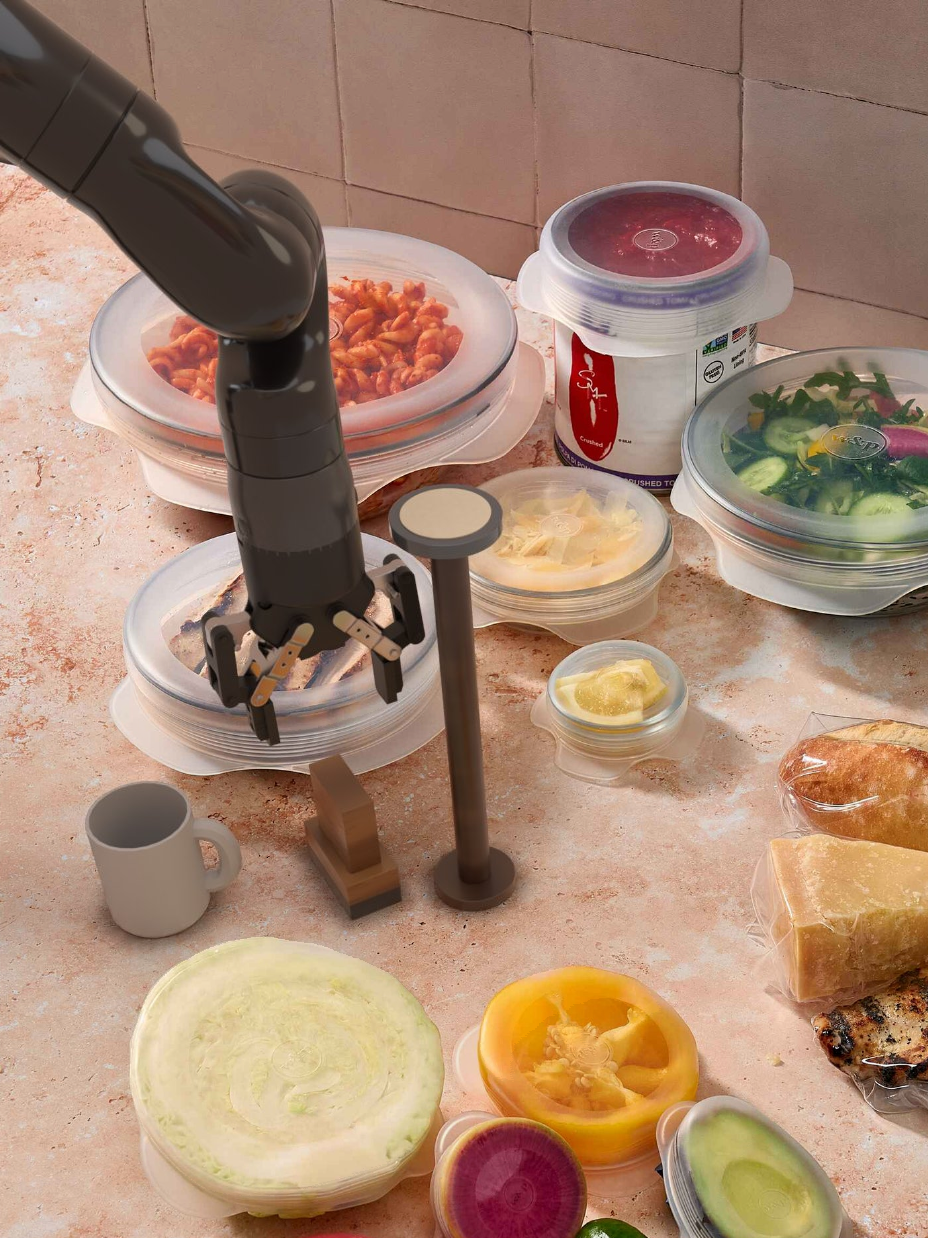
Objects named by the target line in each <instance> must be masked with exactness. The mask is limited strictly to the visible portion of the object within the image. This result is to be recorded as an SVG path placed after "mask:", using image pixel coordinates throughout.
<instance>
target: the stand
mask: <svg viewBox="0 0 928 1238" xmlns="http://www.w3.org/2000/svg"><path fill="white" fill-rule="evenodd" d="M429 566H430V575H431V587H432V596H433V609H434V619H435V630H436V641H437V643H436V644H437V652H438V662H439V663H438V665H439V674H440V675H439V677H440V686H441V698H442V707H443V708H442V709H443V718H444V731H445V742H446V753H447V763H448V775H449V782H450V783H449V786H450V795H451V808H452V819H453V830H454V840H455V849H453V850H451V851H449V852H447V853H446V854H445V855H444V856H442V857H441V858H440V860H439V861H438V862H437V864H436V865H435V868H434V872H433V881H434V888H435V889H434V890H435V892H436V894H437V895H438V897H439V899H441V900H442V901H443V902H444V903H445V904H447V905H448V906H450V907H452V908H454V909H457V910H462V911H467V912H468V911H469V912H479V911H485V910H489V909H491V908H495V907H497V906H498V905H500V904H502V903H504V902H505V901H506V900H508V898H509V897H510V896H511V895H512V893H513V892H514V890H515V887H516V882H517V878H516V868H515V867H516V866H515V864H514V861H513V860H512V859H511V857H510V856H509V855H508V854H506V853H505V852H504V851H503V850H500V849H498V848H496V847H493V846H491V845H490V839H489V827H488V812H487V798H486V797H487V796H486V783H485V769H484V757H483V755H484V754H483V744H482V743H483V741H482V729H481V713H480V700H479V686H478V685H479V684H478V672H477V659H476V645H475V644H476V643H475V629H474V618H473V617H474V616H473V603H472V602H473V601H472V589H471V587H472V586H471V573H470V560H469V556H467V557H463V558H457V559H443V560H442V559H429Z"/></svg>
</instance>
